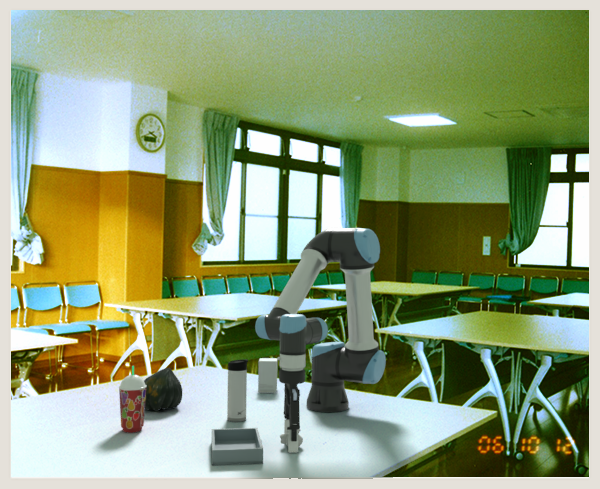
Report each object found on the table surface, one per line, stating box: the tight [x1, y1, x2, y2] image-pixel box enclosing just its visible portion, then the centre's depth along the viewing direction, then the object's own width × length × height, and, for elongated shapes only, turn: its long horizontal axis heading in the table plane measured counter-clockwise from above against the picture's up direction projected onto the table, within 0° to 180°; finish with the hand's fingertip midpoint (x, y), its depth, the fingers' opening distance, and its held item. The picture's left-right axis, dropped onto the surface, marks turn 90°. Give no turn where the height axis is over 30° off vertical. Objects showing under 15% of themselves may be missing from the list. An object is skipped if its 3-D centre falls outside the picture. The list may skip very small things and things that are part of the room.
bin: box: [211, 427, 264, 466], centre depth 181 cm, size 13×19×4 cm
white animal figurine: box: [279, 424, 304, 448], centre depth 186 cm, size 5×7×8 cm
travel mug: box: [226, 358, 249, 423], centre depth 215 cm, size 6×7×20 cm
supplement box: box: [257, 357, 278, 394], centre depth 256 cm, size 7×7×13 cm
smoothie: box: [118, 365, 147, 434], centre depth 201 cm, size 8×8×20 cm
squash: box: [143, 367, 183, 412], centre depth 228 cm, size 14×15×15 cm
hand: (290, 446), depth 186 cm, fingers open, 9 cm apart
